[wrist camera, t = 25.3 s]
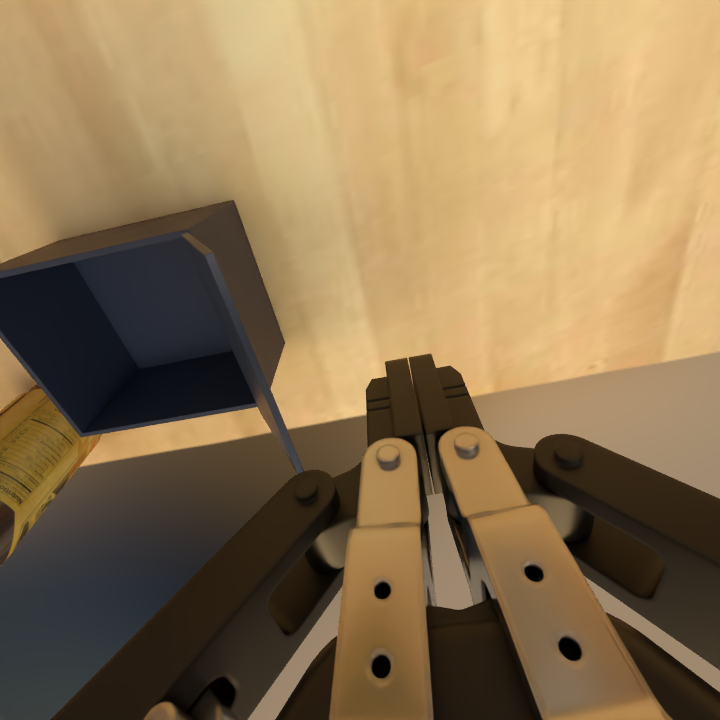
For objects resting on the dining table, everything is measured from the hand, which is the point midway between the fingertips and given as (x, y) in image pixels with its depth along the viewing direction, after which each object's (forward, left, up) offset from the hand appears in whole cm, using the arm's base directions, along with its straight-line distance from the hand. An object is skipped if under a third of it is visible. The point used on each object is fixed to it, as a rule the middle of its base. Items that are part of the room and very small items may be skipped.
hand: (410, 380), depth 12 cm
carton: (0, -14, -14) cm, 20 cm away
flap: (0, -7, -4) cm, 8 cm away
